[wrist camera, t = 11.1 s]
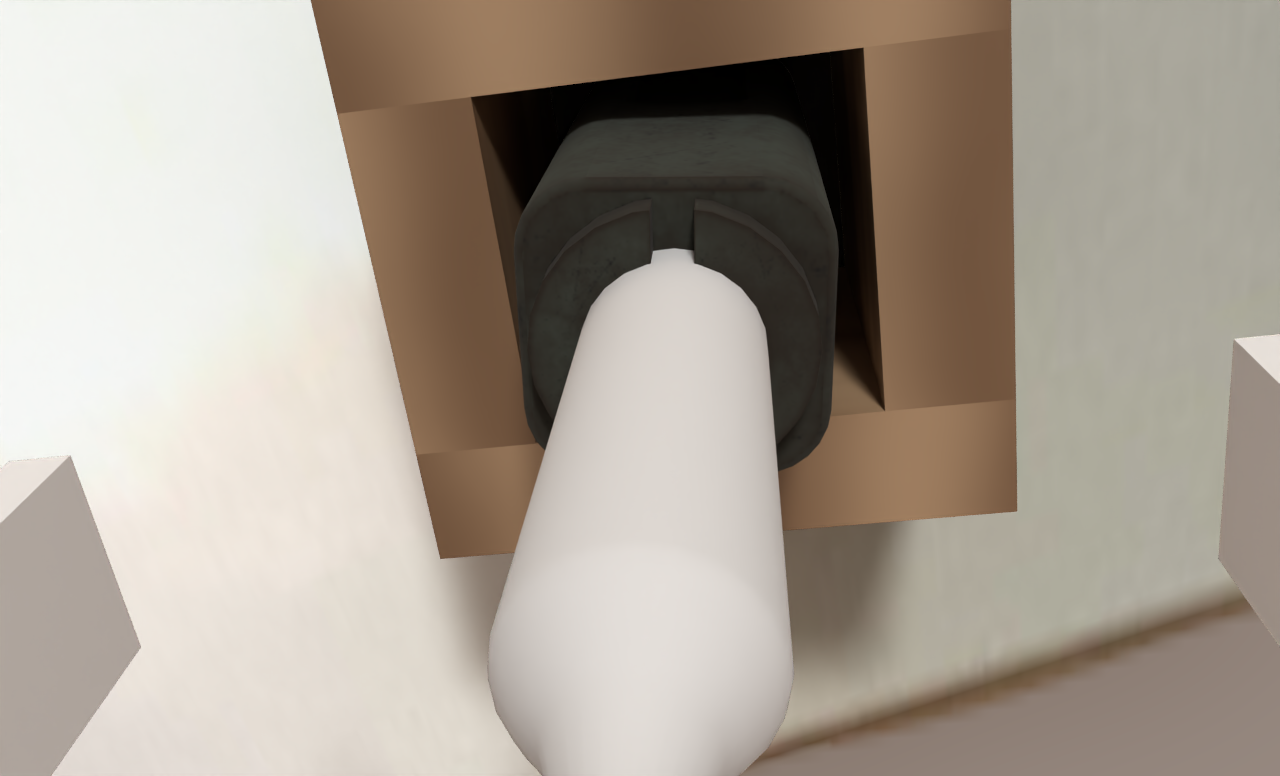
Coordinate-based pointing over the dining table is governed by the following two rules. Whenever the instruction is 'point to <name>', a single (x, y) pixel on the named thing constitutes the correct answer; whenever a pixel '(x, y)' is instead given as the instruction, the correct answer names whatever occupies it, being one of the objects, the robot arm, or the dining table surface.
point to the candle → (665, 424)
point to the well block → (870, 212)
